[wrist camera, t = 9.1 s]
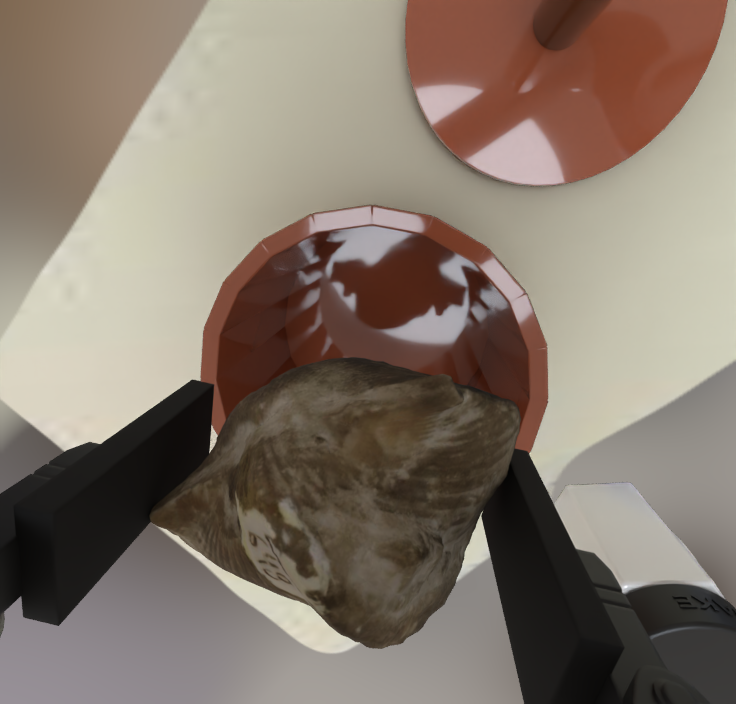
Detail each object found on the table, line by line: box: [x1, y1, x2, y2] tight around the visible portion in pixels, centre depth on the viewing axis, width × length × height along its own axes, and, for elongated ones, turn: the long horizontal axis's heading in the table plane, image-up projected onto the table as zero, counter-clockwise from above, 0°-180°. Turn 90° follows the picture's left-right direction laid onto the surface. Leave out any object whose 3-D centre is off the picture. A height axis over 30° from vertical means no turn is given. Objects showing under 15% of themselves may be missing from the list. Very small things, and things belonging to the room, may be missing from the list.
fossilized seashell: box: [149, 357, 521, 649], centre depth 12 cm, size 8×7×10 cm
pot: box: [201, 205, 548, 453], centre depth 25 cm, size 16×16×12 cm
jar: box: [554, 482, 736, 704], centre depth 27 cm, size 9×8×12 cm
